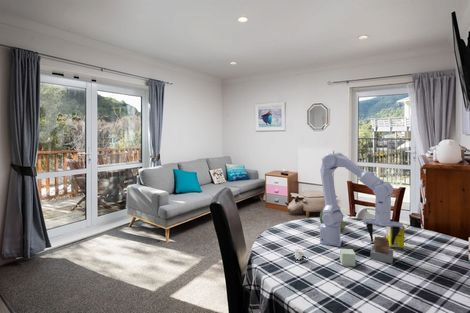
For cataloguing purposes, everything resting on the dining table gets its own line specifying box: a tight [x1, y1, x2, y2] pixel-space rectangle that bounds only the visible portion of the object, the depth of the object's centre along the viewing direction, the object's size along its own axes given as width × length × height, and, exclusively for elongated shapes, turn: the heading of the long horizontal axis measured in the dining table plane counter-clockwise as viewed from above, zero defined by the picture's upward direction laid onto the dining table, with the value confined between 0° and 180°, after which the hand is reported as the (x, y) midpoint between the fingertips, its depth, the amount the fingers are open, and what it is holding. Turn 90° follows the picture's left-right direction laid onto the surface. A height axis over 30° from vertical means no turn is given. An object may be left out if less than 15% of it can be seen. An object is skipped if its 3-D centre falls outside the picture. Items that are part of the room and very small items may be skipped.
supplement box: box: [385, 221, 405, 250], centre depth 127 cm, size 6×6×11 cm
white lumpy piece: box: [294, 248, 308, 261], centre depth 116 cm, size 9×8×4 cm
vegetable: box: [319, 209, 347, 230], centre depth 154 cm, size 12×13×15 cm
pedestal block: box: [370, 245, 394, 265], centre depth 116 cm, size 8×8×4 cm
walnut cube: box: [373, 236, 390, 254], centre depth 116 cm, size 5×5×5 cm
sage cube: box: [339, 248, 356, 267], centre depth 111 cm, size 5×5×5 cm
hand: (382, 242), depth 115 cm, fingers open, 7 cm apart
